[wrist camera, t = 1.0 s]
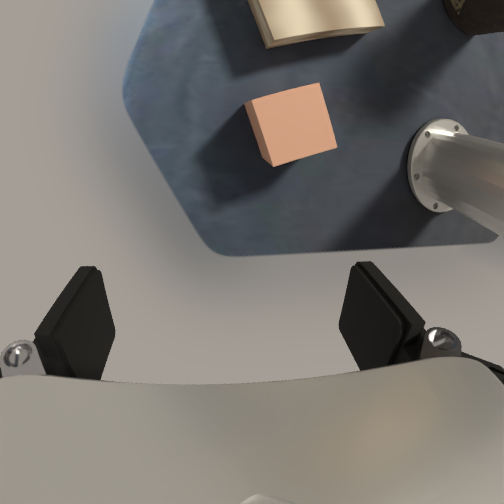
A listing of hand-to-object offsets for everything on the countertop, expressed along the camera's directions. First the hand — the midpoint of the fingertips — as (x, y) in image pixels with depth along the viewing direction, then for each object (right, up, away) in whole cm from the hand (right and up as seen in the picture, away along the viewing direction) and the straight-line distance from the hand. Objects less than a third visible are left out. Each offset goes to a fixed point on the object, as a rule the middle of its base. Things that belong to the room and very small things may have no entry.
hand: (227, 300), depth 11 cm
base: (+6, +29, +12) cm, 32 cm away
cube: (+4, +15, +18) cm, 24 cm away
